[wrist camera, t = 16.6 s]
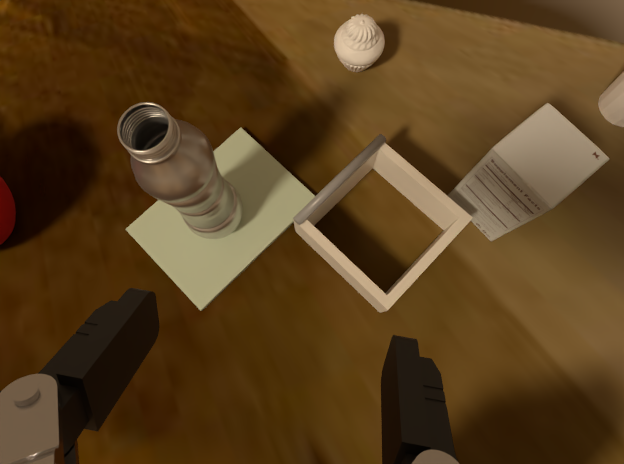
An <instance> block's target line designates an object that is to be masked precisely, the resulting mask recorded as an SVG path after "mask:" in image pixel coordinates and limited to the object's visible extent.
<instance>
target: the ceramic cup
mask: <svg viewBox="0 0 624 464" xmlns="http://www.w3.org/2000/svg"><path fill="white" fill-rule="evenodd" d="M15 215H16V210H15V202H14V199H13V196H12V193H11V191H10V189H9V187H8V186H7V184H6V183H5V181H4V180H3V178H2V177H1V176H0V245H1V244H2V243H3V242H4V241H5V240H6V239H7V238H8V237H9V236H10V234H11V233H12V231H13V228H14V225H15V219H16V218H15Z"/></svg>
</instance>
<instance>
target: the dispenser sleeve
mask: <svg viewBox="0 0 624 464" xmlns="http://www.w3.org/2000/svg"><path fill="white" fill-rule="evenodd" d="M385 142H386V138H385V137H384V136H383V135H382V134H379V135H378V136H377V137H376V138H375V139H374V140H373V141H372V142H371V143H370V144H369V145H368V146H367V147H366V148H365V149H364V150H363V151H362V152H361V153H360V154H359V155H358V156H357V157H356V158H355V159H354V160H353V161H351V162H350V163H349V164H348V165H347V166H346V167H345V168H344V169H343V170H342V171H341V172H340V173H339V174H338V175H337V176H336V177H335V178H334V179H333V180H332V181H331V182H330V183H329V184H328V185H327V186H326V187H325V188H324V189H322V190H321V191H320V192H319V193H318V194H317V195H316V196H315V197H314V198H313V199H312V200H311V201H310V202H309V203H308V204H307V205H306V206H305V207H304V208H303V209H302V210H301V211H300V212H299V213H298V214H297V215H296V216H295V217H294V218H293V221H294V226H295V231H296V233H297V234H299V235H300V236H301V237H302V238H303V239H304V240H305V241H306V242H307V243H308V244H309V245H310V246H311V247H312V248H313V249H314V250H315V251H316V252H317V253H318V254H319V255H320V256H321V257H322V258H323V259H325V260H326V261H327V262H328V263H329V264H330V265H331V266H332V267H333V268H334V269H335V270H336V271H337V272H338V273H339V274H340V275H341V276H342V277H343V278H344V279H345V280H346V281H347V282H348V283H349V284H351V285H352V286H353V287H354V288H355V289H356V290H357V291H358V292H359V293H360V294H361V295H362V296H363V297H364V298H365V299H366V300H367V301H368V302H369V303H370V304H371V305H372V306H373V307H374V308H375V309H377V310H378V311H379V312H380V313H381V312H384V311H387V310H388V309H389V308H390V307H391V306H392V305H393V304H394V303H395V302H396V301H397V300H398V299H399V298H400V296H401V295H402V294H403V293H404V292H405V291H406V290H407V289H408V288H409V287H410V286H411V285H412V283H413V282H414V281H415V280H416V279H417V278H418V277H419V276H420V275H421V274H422V273H423V272H424V270H425V269H426V268H427V267H428V266H429V265H430V264H431V263H432V262H433V261H434V260H435V259H436V257H437V256H438V255H439V254H440V253H441V252H442V251H443V250H444V249H445V248H446V247H447V246H448V244H449V243H450V242H451V241H452V240H453V239H454V238H455V237H456V236H457V235H458V234H459V233H460V231H461V230H462V229H463V228H464V227H465V226H466V225H467V224H468V223H469V222H470V221H471V219H472V218H473V217H472V216H470V215H469V214H468V213H467V212H466V211H465V210H463V209H462V208H461V207H460V206H459V205H457V204H456V203H455V202H454V201H453V200H452V199H450V198H449V197H448V196H447V195H446V194H445V193H443V192H442V191H441V190H440V189H439V188H438V187H436V186H435V185H434V184H433V183H432V182H430V181H429V180H428V179H427V178H426V177H425V176H423V175H422V174H421V173H420V172H419V171H418V170H416V169H415V168H414V167H413V166H412V165H411V164H409V163H408V162H407V161H406V160H405V159H403V158H402V157H401V156H400V155H399V154H398V153H396V152H395V151H394V150H393V149H392V148H391V147H389V146H388V145H387V144H386V143H385ZM372 168H373V169H374V170H375V171H377V172H378V173H379V174H380V175H381V176H382V177H383V178H385V179H386V180H387V181H388V182H389V183H390V184H391V185H393V186H394V187H395V188H396V189H397V190H398V191H399V192H401V193H402V194H403V195H404V196H405V197H406V198H407V199H409V200H410V201H411V202H412V203H413V204H414V205H416V206H417V207H418V208H419V209H420V210H421V211H422V212H424V213H425V214H426V215H427V216H428V217H429V218H430V219H432V220H433V221H434V222H435V223H436V224H437V225H438V226H440V227H441V228H442V229H443V230H444V231H443V232H442V233H441V234H440V235H439V236H438V237H437V238H436V239H435V240H434V241H433V243H432V244H431V245H430V246H429V247H428V248H427V249H426V250H425V251H424V252H423V253H422V254H421V255H420V256H419V258H418V259H417V260H416V261H415V262H414V263H413V264H412V265H411V266H410V267H409V268H408V269H407V270H406V271H405V273H404V274H403V275H402V276H401V277H400V278H399V279H398V280H397V281H396V282H395V283H394V284H393V285H392V286H391V288H390V289H389V290H388V291H387V292H386V293H384V292H383V291H382V290H381V289H380V288H379V287H378V286H377V285H376V284H375V283H373V282H372V281H371V280H370V279H369V278H368V277H367V276H366V275H365V274H364V273H363V272H362V271H361V270H360V269H359V268H358V267H357V266H355V265H354V264H353V263H352V262H351V261H350V260H349V259H348V258H347V257H346V256H345V255H344V254H343V253H342V252H341V251H340V250H339V249H338V248H336V247H335V246H334V245H333V244H332V243H331V242H330V241H329V240H328V239H327V238H326V237H325V236H324V235H323V234H322V233H321V232H320V231H319V230H317V229H316V228H315V227H314V225H315V224H316V223H317V222H318V221H319V220H320V219H322V218H323V217H324V216H325V215H326V214H327V213H328V212H329V211H330V210H331V209H332V208H333V207H334V206H335V205H336V204H337V203H338V202H339V201H340V200H341V199H342V198H343V197H344V196H345V195H346V194H347V193H348V192H349V191H350V190H351V189H352V188H353V187H354V186H355V185H356V184H357V183H358V182H359V181H360V180H361V179H362V178H363V177H364V176H365V175H366V174H367V173H368V172H369V171H370V170H371V169H372Z"/></svg>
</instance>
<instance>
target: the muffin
mask: <svg viewBox="0 0 624 464" xmlns="http://www.w3.org/2000/svg"><path fill="white" fill-rule="evenodd" d="M384 44H385V39H384V34H383V32H382V30H381V29H380V27H379V26H378V25H377V24H376V23H375V21H374V20H373V18H372V17H369V16H368V15H363V14H361V15H358V14H357V15H356V16H352V17H351V19H350V20H348V21H347V22H345V23H344V24H343V25H342V26H341V27H340V28H339V29H338V30H337V32H336V34H335V38H334V48H335V51H336V53H337V55H338V58H339V59H340V61H341V62H342V63H343V65H344V66H345V67H346V68H347V69H348V70H350V71H352V72H353V71H354V72H360V71H364V70H365V69H366V68H368V67H369V66H371V65H372V64H373V63H375V61H376V60H377V59H378V58H379V57H380V56H381V54H382V52H383V49H384Z"/></svg>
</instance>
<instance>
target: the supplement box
mask: <svg viewBox="0 0 624 464" xmlns="http://www.w3.org/2000/svg"><path fill="white" fill-rule="evenodd" d="M608 160H609V157H607V156H606V155H605V154H604V153H603V152H602V151H601V150H600V149H599V148H598V147H597V146H596V145H595V144H594V143H593V142H592V141H591V140H589V139H588V138H587V137H586V136H585V135H584V134H583V133H582V132H581V131H579V130H578V129H577V128H576V127H575V126H574V125H573V124H572V123H571V122H570V121H568V120H567V119H566V118H565V117H564V116H563V115H562V114H561V113H560V112H559V111H558V110H556V109H555V108H554V107H553V106H552V105H550V104H549V103H546V104H545V105H544V106H542V107H541V108H540V109H538V110H537V111H536V112H535V113H533V114H532V115H531V116H530V117H528V118H527V119H526V120H525V121H523V122H522V123H521V124H520V125H518V126H517V127H516V128H515V129H514V130H512V131H511V132H510V133H509V134H508V135H506V136H505V137H504V138H503V139H502V140H500V141H499V142H498V143H497V144H496V145H495V146H494V147H493V148H492V149H491V150H490V151H489V152H488V153H487V154H486V155H485V156H484V157H483V158H482V159H481V160H480V161H479V163H478V164H477V165H476V166H475V167H474V168H473V169H472V170H471V171H470V172H469V173H468V174H467V175H466V176H465V177H464V178H463V179H462V180H461V182H460V183H459V184H458V185H457V186H456V187H455V188H454V189H453V190H452V191H451V193H450V194H449V195H448V197H449V198H450V199H452V200H453V201H454V202H455V203H456V204H457V205H459V206H460V207H461V208H462V209H463V210H465V211H466V212H467V213H468V214H469V215H470V216H472V217H473V218H472V219H471V221H472V222H473V223H474V224H475V225H476V227H477V228H478V229H479V230H480V231H481V232H482V233H483V234H484V235H485V236H486V237H487V238H488V239H489V240H490V241H493V240H495V239H497V238H499V237H501V236H502V235H504V234H506V233H508V232H510V231H512V230H514V229H516V228H518V227H520V226H522V225H523V224H525V223H527V222H529V221H531V220H533V219H535V218H537V217H539V216H541V215H543V214H544V213H546V212H548V211H550V210H551V209H553V208H554V207H556V206H557V205H558V204H559V203H560V202H561V201H562V200H564V199H565V198H566V197H567V196H568V195H569V194H570V193H572V192H573V191H574V190H575V189H576V188H577V187H579V186H580V185H581V184H582V183H583V182H585V181H586V179H588V178H589V177H590V176H591V175H592V174H593V173H594V172H596V171H597V170H598V169H599V168H600V167H601V166H602V165H604V164H605V163H606V162H607V161H608Z"/></svg>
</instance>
